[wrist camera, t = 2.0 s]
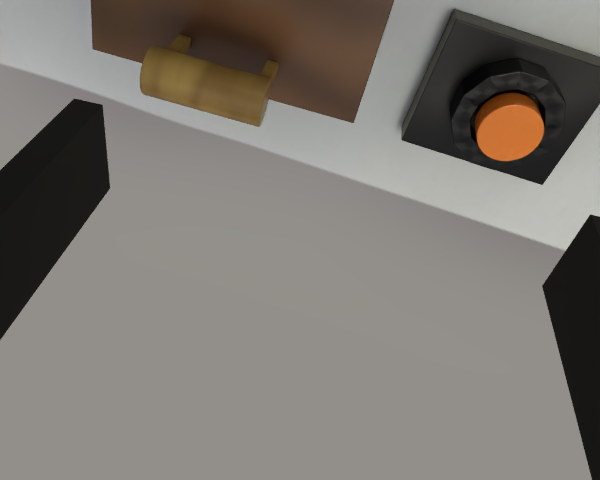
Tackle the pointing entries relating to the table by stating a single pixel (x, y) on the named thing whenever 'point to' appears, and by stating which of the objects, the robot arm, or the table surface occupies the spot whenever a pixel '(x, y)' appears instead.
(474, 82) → the box
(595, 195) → the table surface
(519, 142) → the button
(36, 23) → the table surface
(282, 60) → the dark wooden panel
